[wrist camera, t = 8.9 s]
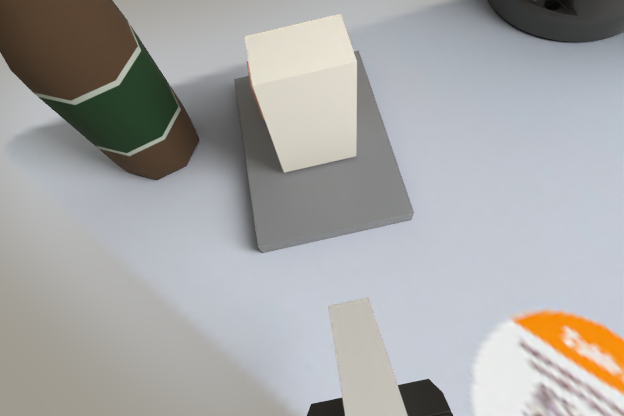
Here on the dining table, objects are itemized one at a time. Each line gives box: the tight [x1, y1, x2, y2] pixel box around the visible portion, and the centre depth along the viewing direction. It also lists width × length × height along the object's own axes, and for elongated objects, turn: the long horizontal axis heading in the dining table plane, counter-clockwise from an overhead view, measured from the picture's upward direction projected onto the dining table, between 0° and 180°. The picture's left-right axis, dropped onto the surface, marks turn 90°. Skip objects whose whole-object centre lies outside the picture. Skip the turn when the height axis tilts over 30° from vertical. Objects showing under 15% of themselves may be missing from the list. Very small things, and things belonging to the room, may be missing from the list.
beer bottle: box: [0, 0, 199, 180], centre depth 23 cm, size 8×8×24 cm
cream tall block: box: [244, 14, 357, 173], centre depth 26 cm, size 6×4×10 cm, turn 102°
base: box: [234, 51, 414, 253], centre depth 32 cm, size 12×17×2 cm
